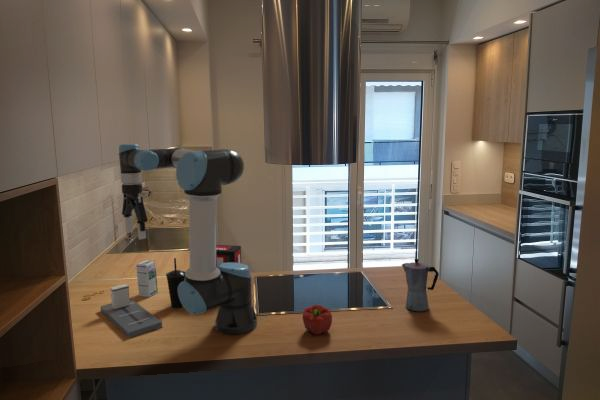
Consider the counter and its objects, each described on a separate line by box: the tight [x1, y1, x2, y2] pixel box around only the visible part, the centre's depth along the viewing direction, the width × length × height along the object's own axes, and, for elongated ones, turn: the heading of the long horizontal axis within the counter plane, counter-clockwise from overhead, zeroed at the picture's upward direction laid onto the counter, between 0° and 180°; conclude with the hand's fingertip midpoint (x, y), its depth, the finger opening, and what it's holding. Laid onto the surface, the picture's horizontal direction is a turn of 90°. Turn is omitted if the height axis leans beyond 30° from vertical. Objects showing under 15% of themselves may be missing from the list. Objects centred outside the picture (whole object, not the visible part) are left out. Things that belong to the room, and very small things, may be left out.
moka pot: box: [401, 258, 439, 312], centre depth 172 cm, size 10×15×20 cm, turn 55°
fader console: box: [100, 297, 163, 339], centre depth 166 cm, size 30×12×2 cm, turn 41°
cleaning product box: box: [216, 244, 242, 268], centre depth 191 cm, size 16×9×20 cm, turn 80°
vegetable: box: [302, 304, 333, 336], centre depth 153 cm, size 11×10×10 cm
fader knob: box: [109, 283, 130, 309], centre depth 172 cm, size 3×6×8 cm, turn 131°
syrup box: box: [135, 259, 159, 298], centre depth 189 cm, size 6×6×14 cm
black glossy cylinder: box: [165, 257, 186, 309], centre depth 176 cm, size 8×8×20 cm
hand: (135, 235), depth 176 cm, fingers open, 13 cm apart
